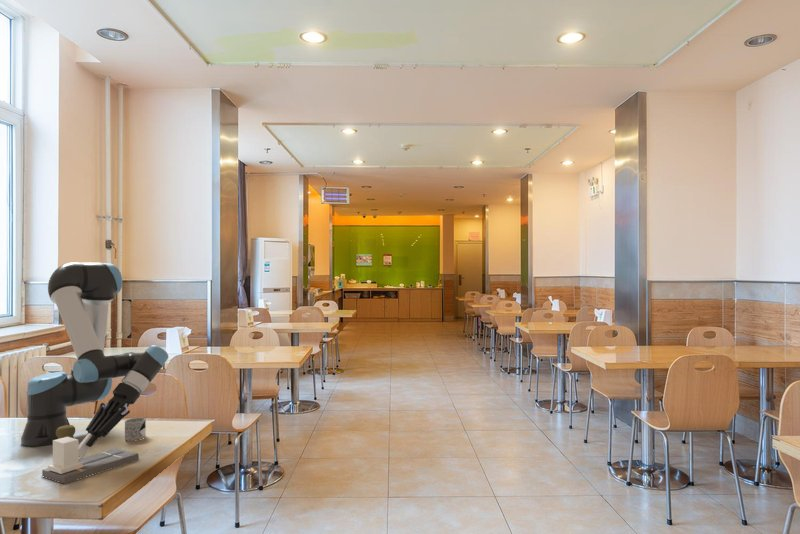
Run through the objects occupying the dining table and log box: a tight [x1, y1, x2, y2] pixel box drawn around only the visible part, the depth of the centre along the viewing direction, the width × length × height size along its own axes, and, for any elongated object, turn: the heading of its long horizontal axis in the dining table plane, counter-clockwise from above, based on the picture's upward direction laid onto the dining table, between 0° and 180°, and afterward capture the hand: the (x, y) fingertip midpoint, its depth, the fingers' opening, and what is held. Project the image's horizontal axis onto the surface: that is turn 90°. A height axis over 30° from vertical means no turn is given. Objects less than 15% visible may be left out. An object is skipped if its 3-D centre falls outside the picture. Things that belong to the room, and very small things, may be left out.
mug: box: [124, 417, 147, 442], centre depth 187 cm, size 10×7×7 cm, turn 22°
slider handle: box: [47, 437, 83, 474], centre depth 149 cm, size 6×7×8 cm
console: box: [41, 447, 140, 485], centre depth 156 cm, size 22×12×2 cm, turn 150°
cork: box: [56, 424, 76, 439], centre depth 163 cm, size 6×6×11 cm
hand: (77, 455), depth 152 cm, fingers closed
